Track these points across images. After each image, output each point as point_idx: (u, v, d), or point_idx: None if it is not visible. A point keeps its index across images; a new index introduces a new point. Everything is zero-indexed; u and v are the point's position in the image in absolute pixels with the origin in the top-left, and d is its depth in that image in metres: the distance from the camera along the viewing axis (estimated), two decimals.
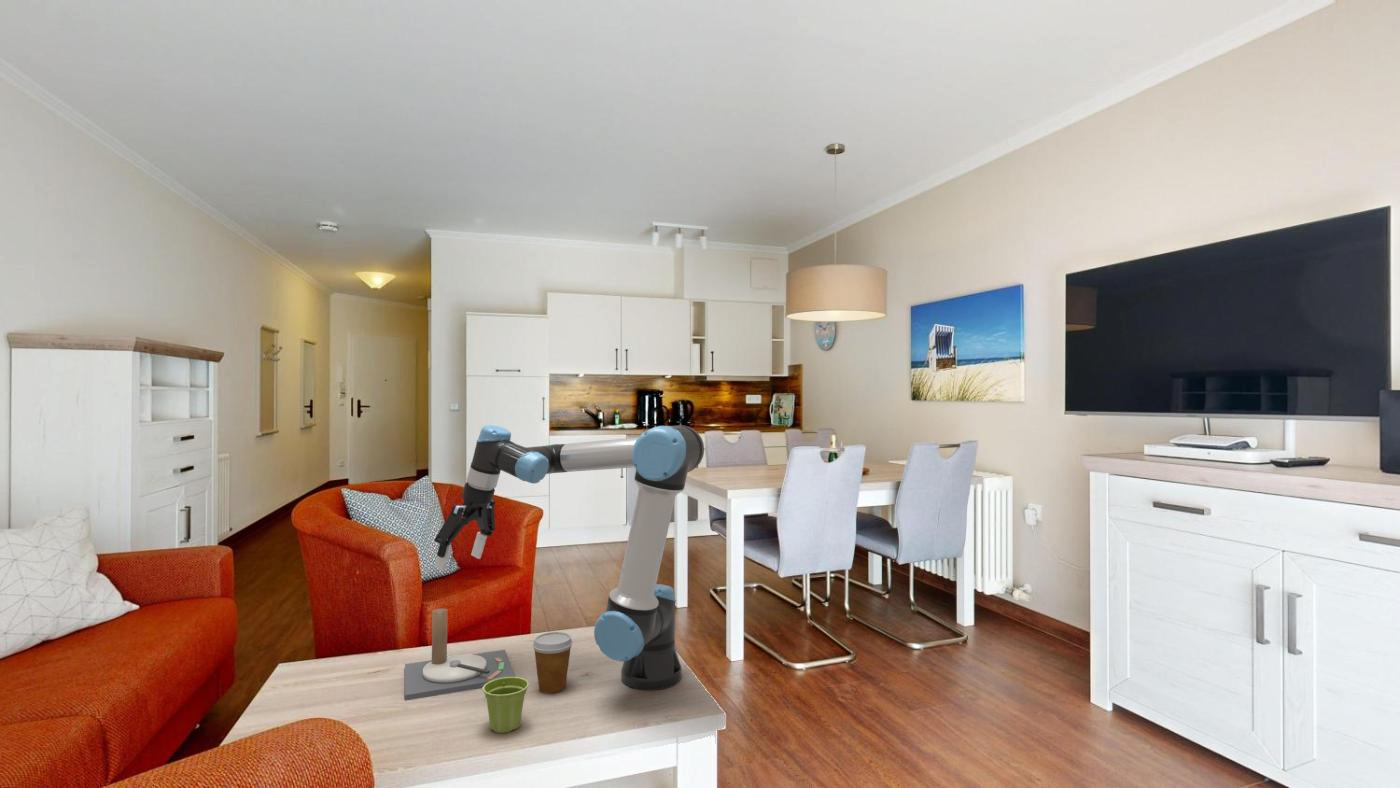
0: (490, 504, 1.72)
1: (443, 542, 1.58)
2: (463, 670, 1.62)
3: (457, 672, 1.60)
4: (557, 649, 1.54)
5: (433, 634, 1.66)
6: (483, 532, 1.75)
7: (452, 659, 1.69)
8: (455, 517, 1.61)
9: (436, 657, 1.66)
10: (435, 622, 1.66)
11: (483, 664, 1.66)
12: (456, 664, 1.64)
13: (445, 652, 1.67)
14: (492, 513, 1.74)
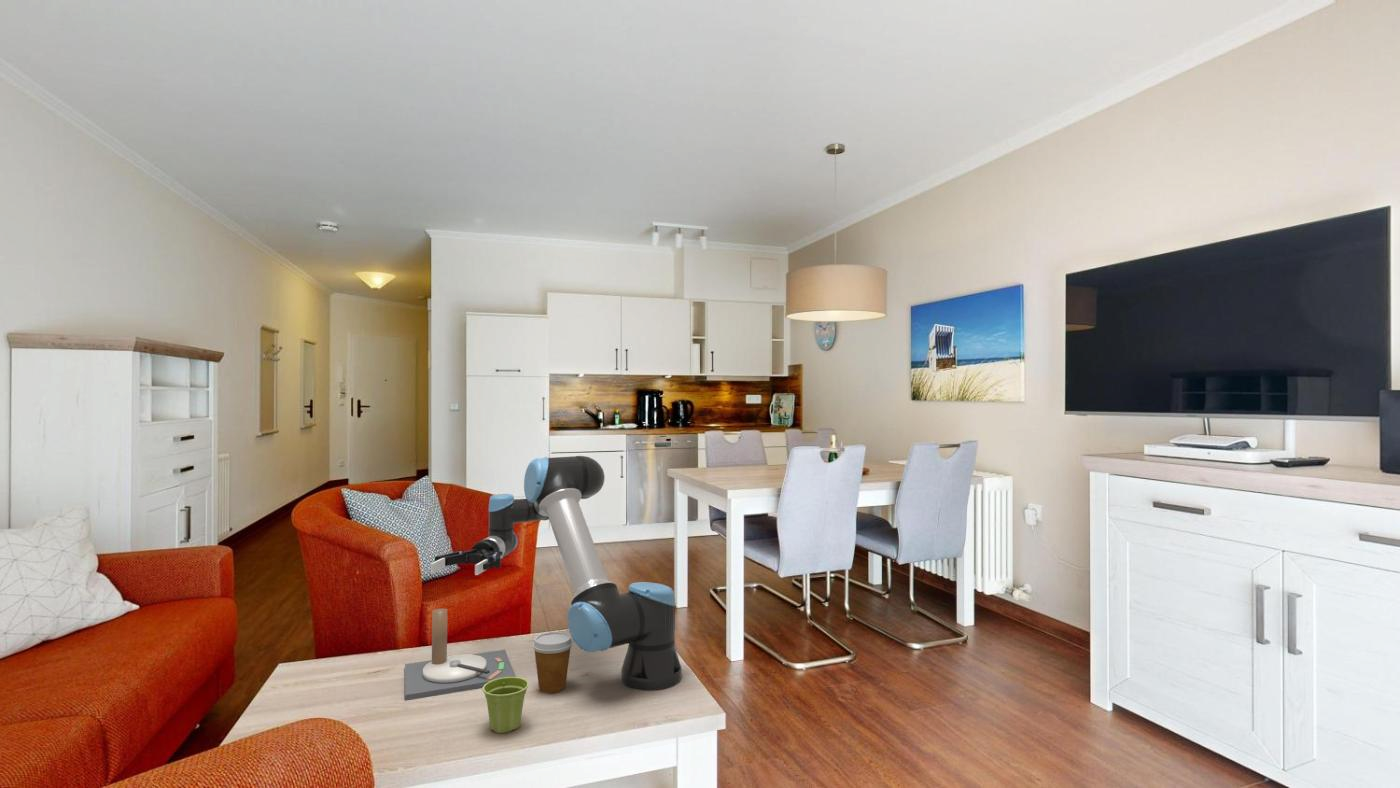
0: None
1: (436, 556, 1.84)
2: (463, 670, 1.62)
3: (457, 672, 1.60)
4: (557, 649, 1.54)
5: (433, 634, 1.66)
6: None
7: (452, 659, 1.69)
8: None
9: (436, 657, 1.66)
10: (435, 622, 1.66)
11: (483, 664, 1.66)
12: (456, 664, 1.64)
13: (445, 652, 1.67)
14: (497, 554, 1.88)
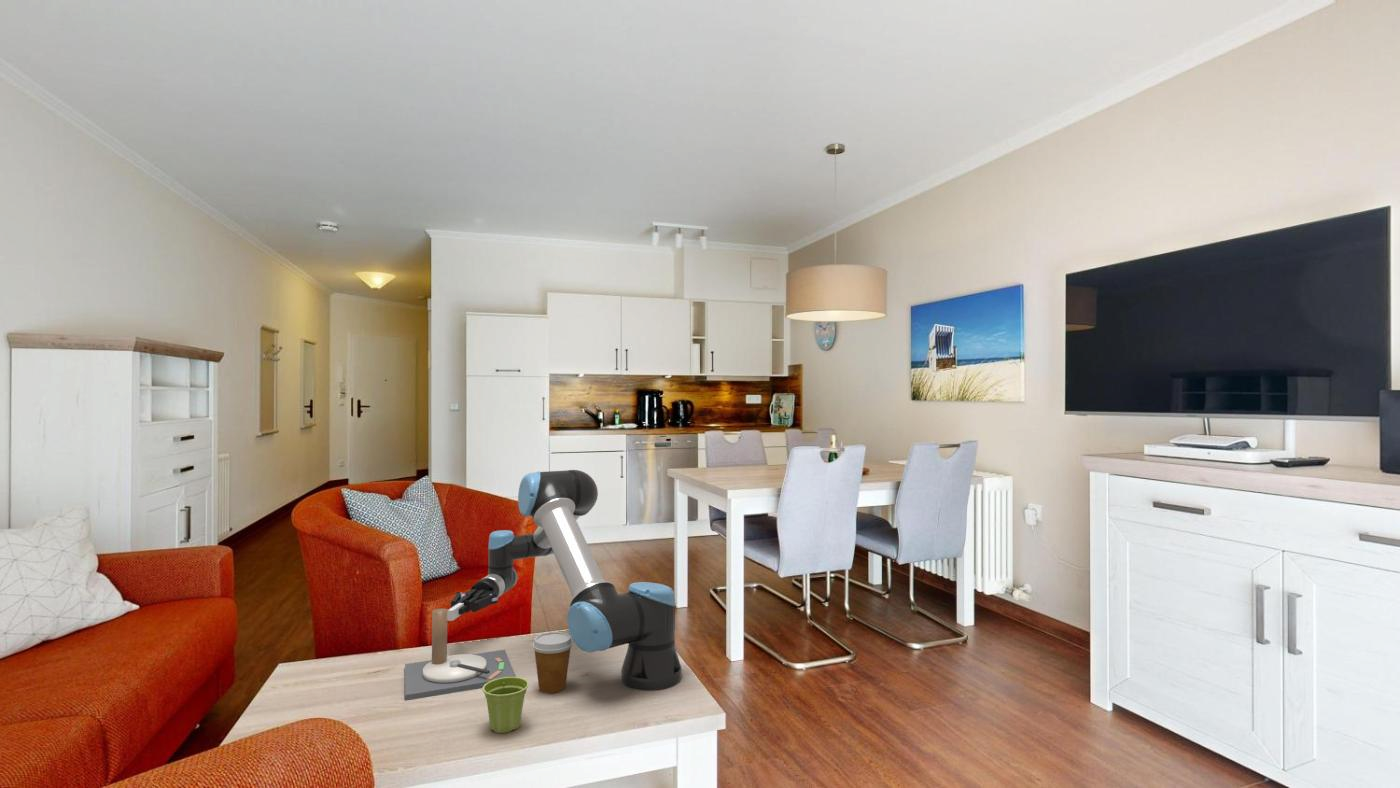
0: None
1: (452, 601, 1.82)
2: (463, 670, 1.62)
3: (457, 672, 1.60)
4: (557, 649, 1.54)
5: (433, 634, 1.66)
6: None
7: (452, 659, 1.69)
8: None
9: (436, 657, 1.66)
10: (435, 622, 1.66)
11: (483, 664, 1.66)
12: (456, 664, 1.64)
13: (445, 652, 1.67)
14: (487, 596, 1.87)
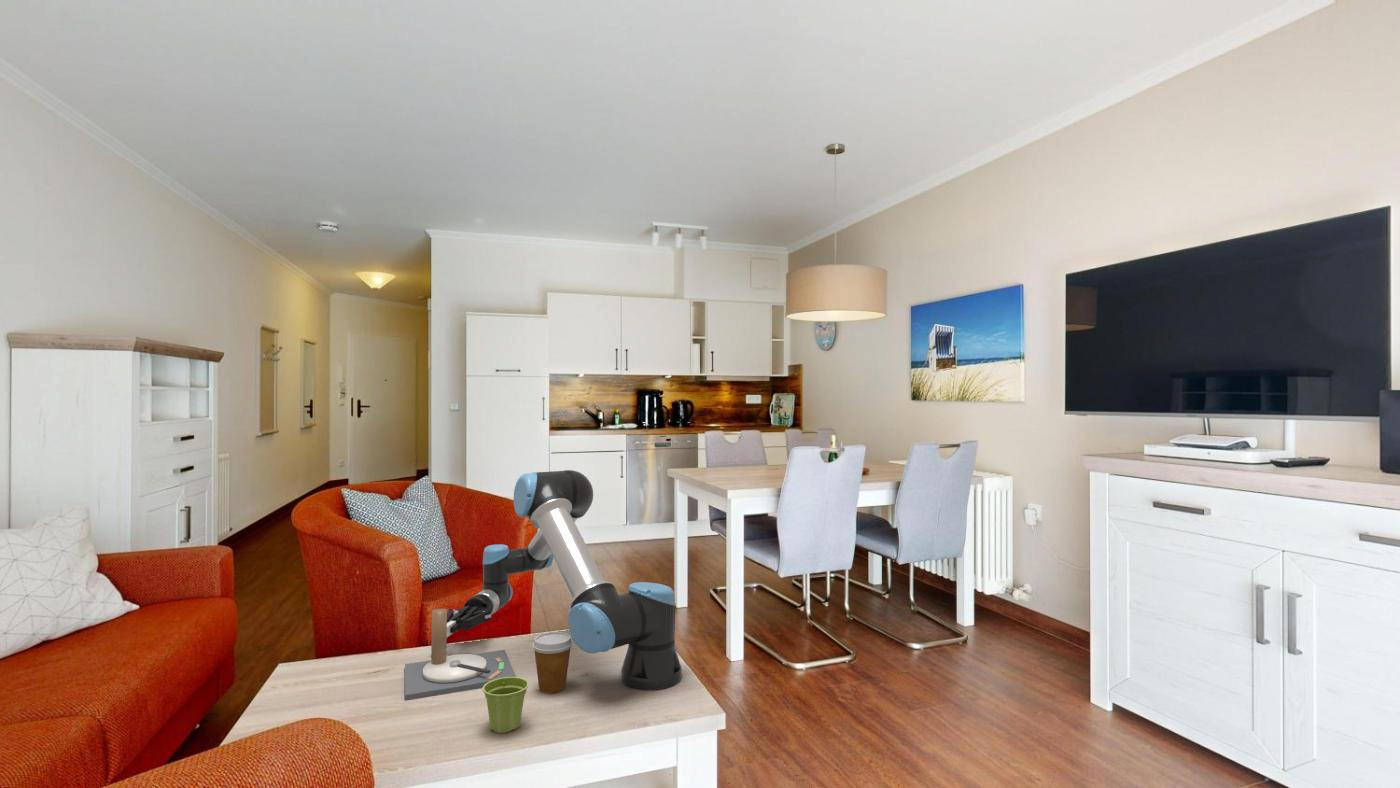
0: None
1: None
2: (463, 670, 1.62)
3: (458, 672, 1.60)
4: (557, 649, 1.54)
5: (433, 634, 1.66)
6: None
7: (452, 659, 1.69)
8: None
9: (435, 657, 1.65)
10: (434, 622, 1.66)
11: (483, 664, 1.66)
12: (456, 664, 1.64)
13: (445, 652, 1.67)
14: (480, 614, 1.82)
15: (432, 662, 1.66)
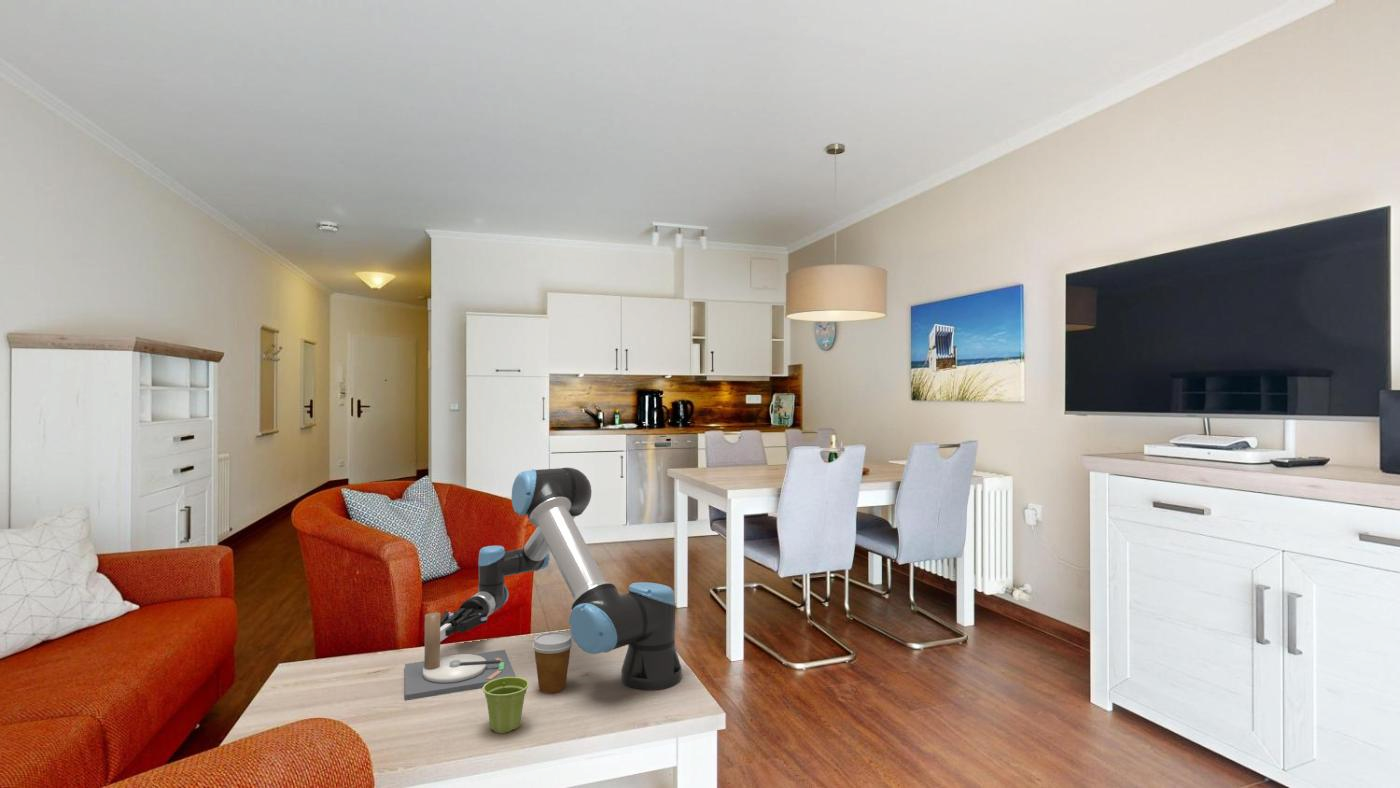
0: None
1: None
2: (471, 666, 1.64)
3: (469, 669, 1.63)
4: (557, 649, 1.54)
5: (429, 639, 1.62)
6: None
7: (442, 662, 1.67)
8: None
9: (433, 662, 1.62)
10: (432, 626, 1.63)
11: (482, 658, 1.70)
12: (459, 663, 1.65)
13: (439, 656, 1.65)
14: (475, 616, 1.79)
15: (428, 668, 1.62)
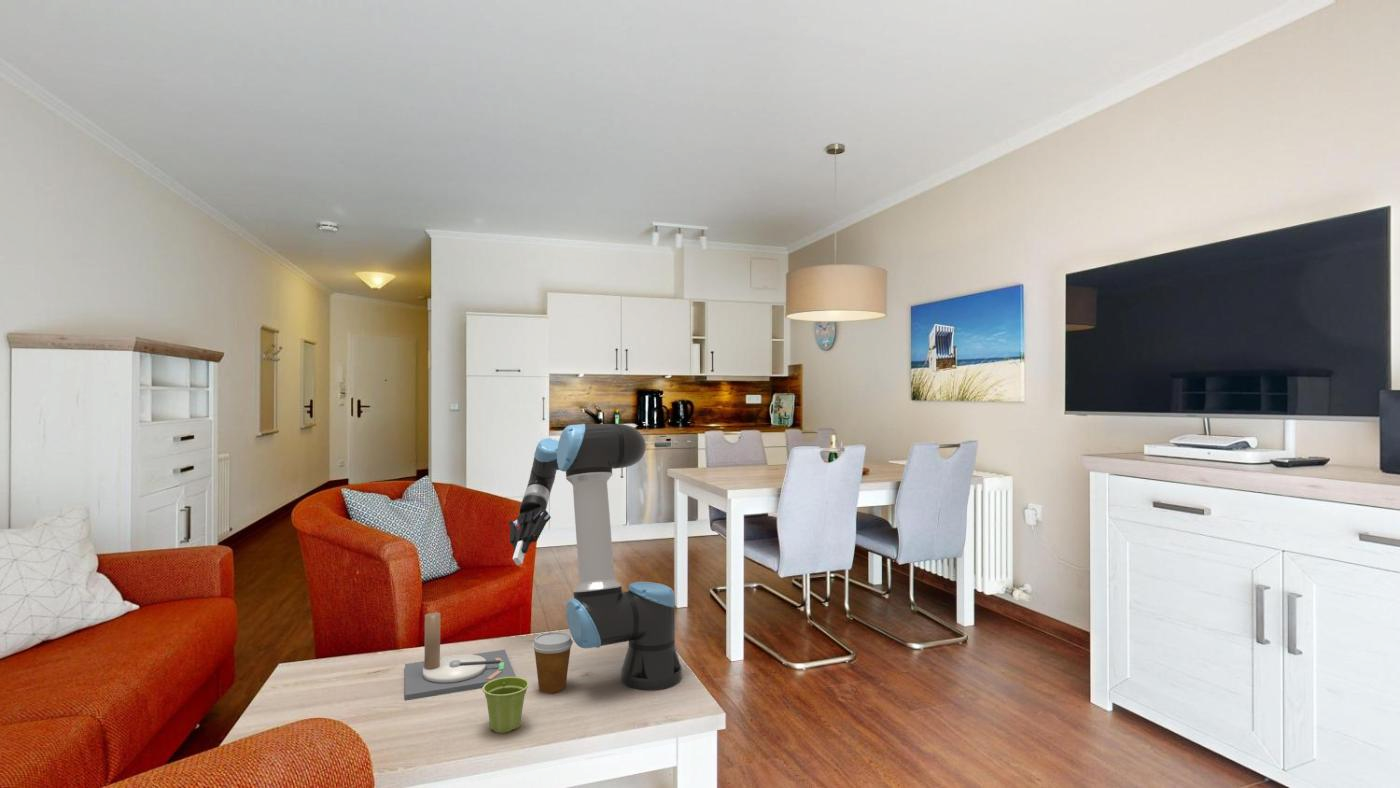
0: None
1: (510, 540, 1.85)
2: (471, 666, 1.64)
3: (469, 669, 1.63)
4: (557, 649, 1.54)
5: (429, 639, 1.62)
6: None
7: (442, 662, 1.67)
8: None
9: (433, 662, 1.62)
10: (432, 626, 1.63)
11: (482, 658, 1.70)
12: (459, 663, 1.65)
13: (439, 656, 1.65)
14: (539, 520, 1.88)
15: (428, 668, 1.62)
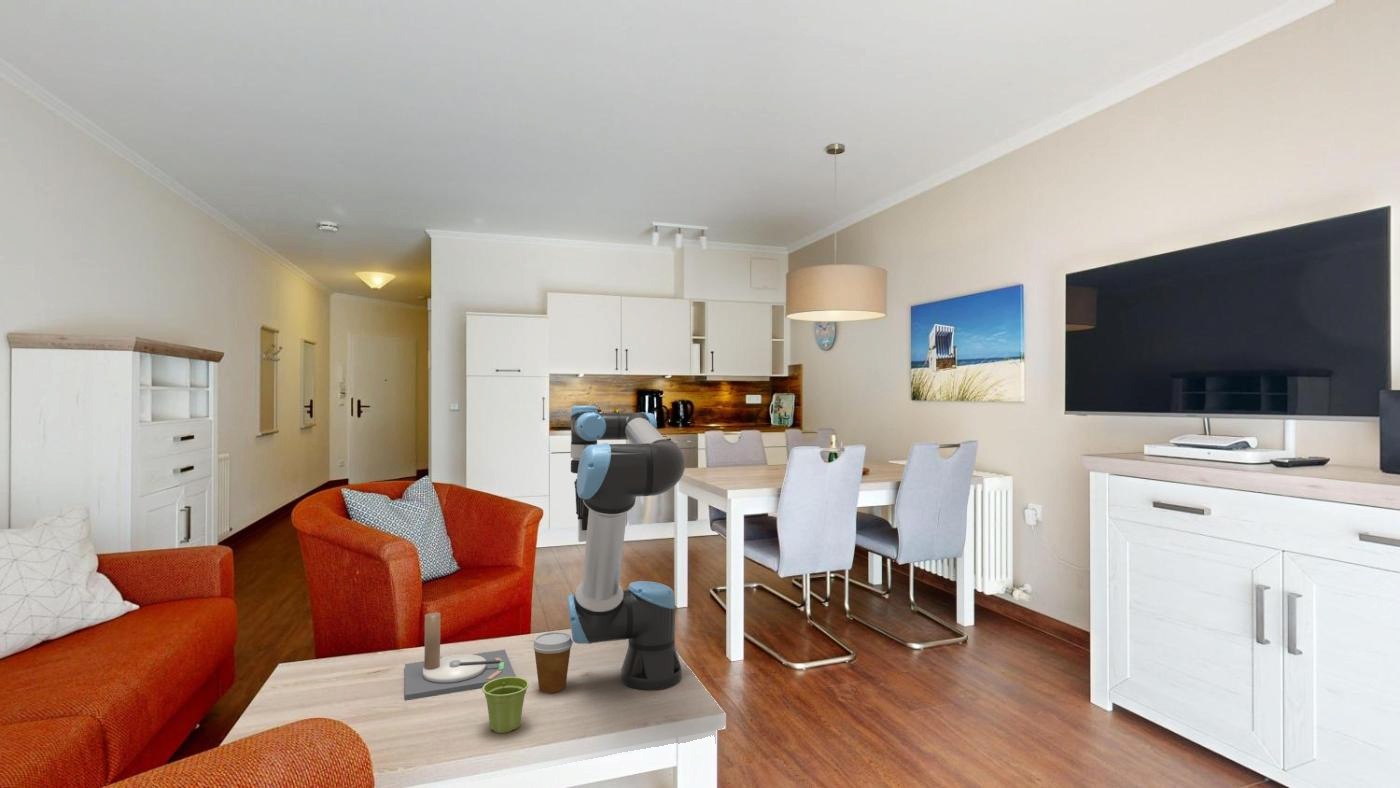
0: None
1: (576, 512, 1.91)
2: (471, 666, 1.64)
3: (469, 669, 1.63)
4: (557, 649, 1.54)
5: (429, 639, 1.62)
6: None
7: (442, 662, 1.67)
8: None
9: (433, 662, 1.62)
10: (432, 626, 1.63)
11: (482, 658, 1.70)
12: (459, 663, 1.65)
13: (439, 656, 1.65)
14: None
15: (428, 668, 1.62)
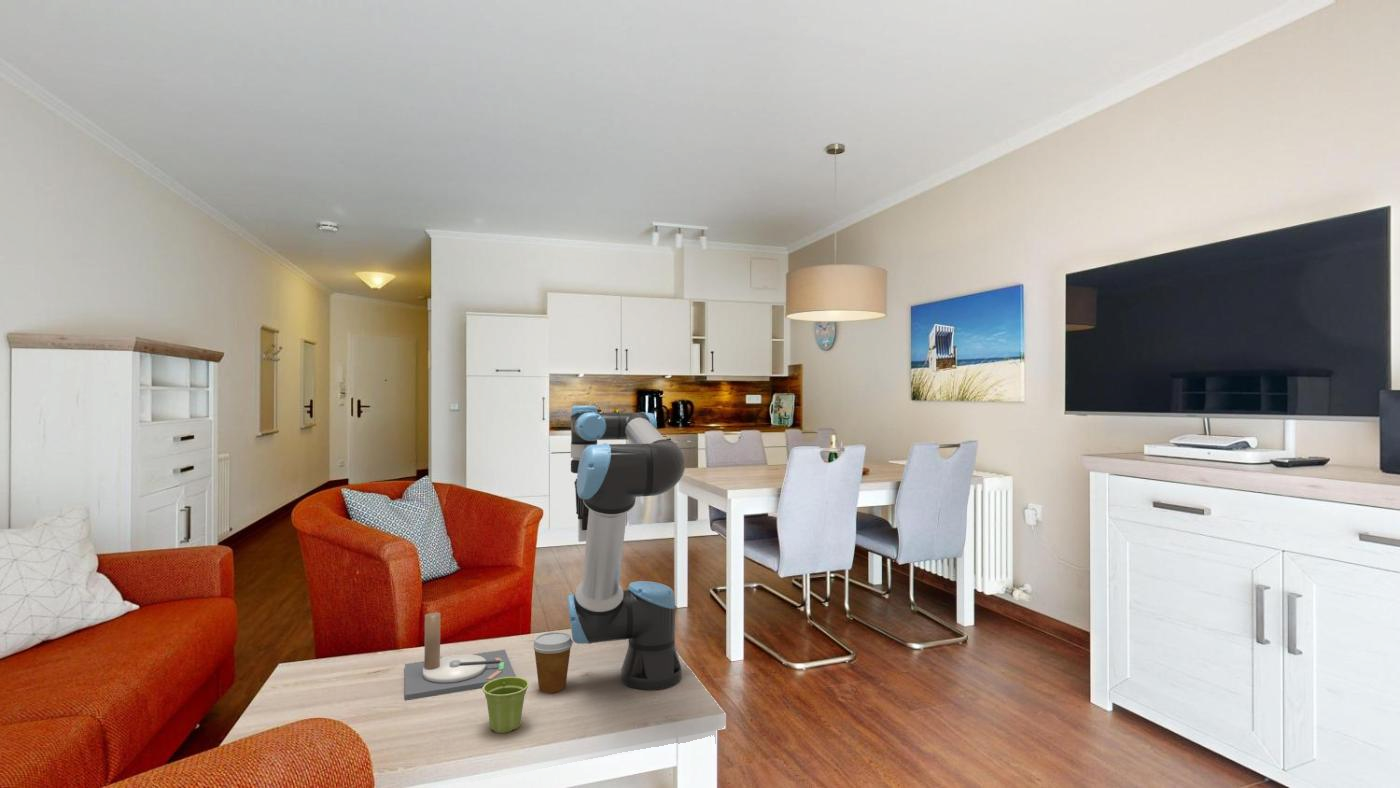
0: None
1: (576, 512, 1.91)
2: (471, 666, 1.64)
3: (469, 669, 1.63)
4: (557, 649, 1.54)
5: (429, 639, 1.62)
6: None
7: (442, 662, 1.67)
8: None
9: (433, 662, 1.62)
10: (432, 626, 1.63)
11: (482, 658, 1.70)
12: (459, 663, 1.65)
13: (439, 656, 1.65)
14: None
15: (428, 668, 1.62)
